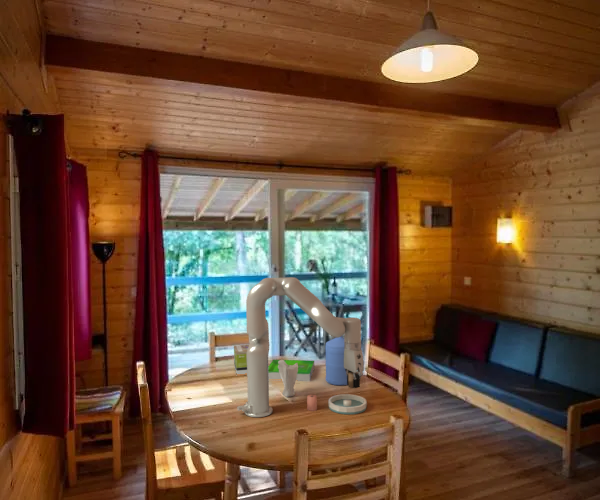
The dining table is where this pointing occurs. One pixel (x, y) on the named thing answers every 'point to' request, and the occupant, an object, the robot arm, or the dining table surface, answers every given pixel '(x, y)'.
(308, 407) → the coral bead
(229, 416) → the dining table surface
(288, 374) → the shell sculpture
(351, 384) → the walnut bead
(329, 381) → the water jug
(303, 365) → the tray
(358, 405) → the groove dish
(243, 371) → the tea box
